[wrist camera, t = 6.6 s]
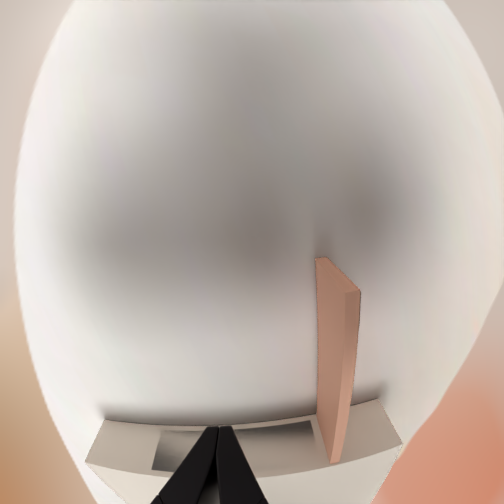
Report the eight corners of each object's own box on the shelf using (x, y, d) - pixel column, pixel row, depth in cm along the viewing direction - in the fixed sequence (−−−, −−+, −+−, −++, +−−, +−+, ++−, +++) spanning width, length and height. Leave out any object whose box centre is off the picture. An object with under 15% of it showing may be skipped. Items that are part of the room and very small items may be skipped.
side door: (316, 416, 17) (330, 464, 13) (315, 258, 14) (345, 292, 10) (328, 414, 17) (344, 460, 13) (331, 256, 14) (367, 288, 10)
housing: (357, 468, 20) (369, 503, 15) (153, 484, 20) (145, 518, 15) (378, 398, 17) (402, 444, 12) (104, 419, 17) (84, 462, 12)
